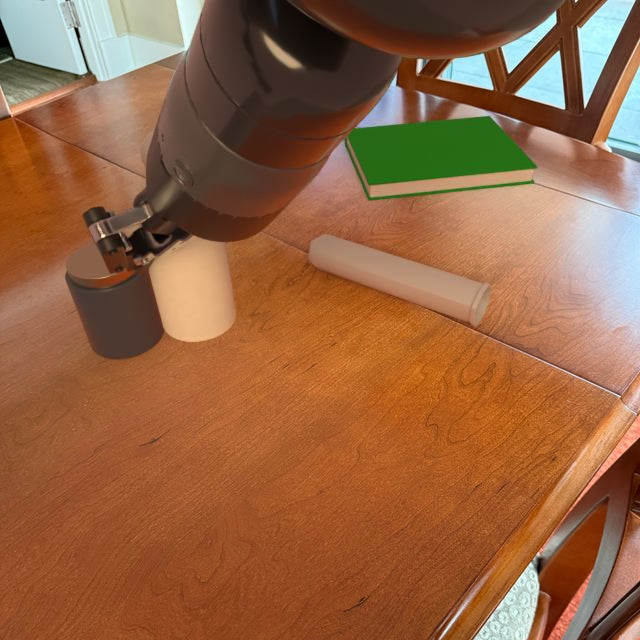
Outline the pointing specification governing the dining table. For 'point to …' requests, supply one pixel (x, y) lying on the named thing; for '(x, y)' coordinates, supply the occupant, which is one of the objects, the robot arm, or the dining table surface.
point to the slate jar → (113, 305)
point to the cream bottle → (194, 290)
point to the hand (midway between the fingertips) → (175, 244)
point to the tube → (401, 278)
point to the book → (436, 157)
